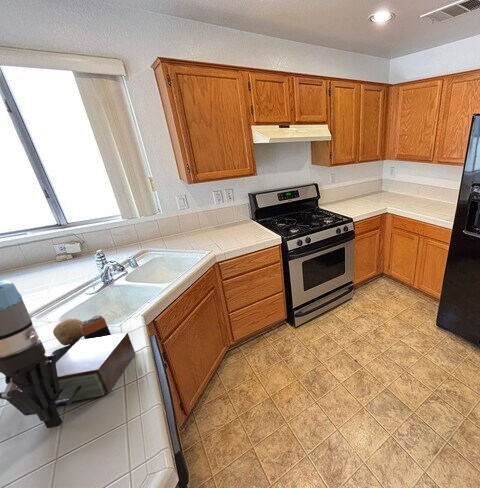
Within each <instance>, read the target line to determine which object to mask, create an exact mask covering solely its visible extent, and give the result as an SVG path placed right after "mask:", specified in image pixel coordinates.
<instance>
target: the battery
mask: <svg viewBox="0 0 480 488" xmlns="http://www.w3.org/2000/svg"><path fill="white" fill-rule="evenodd" d="M79 327H80V329H81V332H82V334H83V338H84V340H85V339H91V338H97V337H103V336H109V335H112V334H111V332H110V331H111V330H110V329H109V327H108V324H107V321H106V318H104V316H102V315H101V314H100V315H99V314H98V315H94V316H93V317H92V318H90V319H88V320H83V321H82V323H80V324H79Z"/></svg>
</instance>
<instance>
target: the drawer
mask: <svg viewBox="0 0 480 488" xmlns="http://www.w3.org/2000/svg"><path fill="white" fill-rule="evenodd" d="M58 381H59V387H60V391H59V393H57V394H56V395H55V396H59V399H58V400H56V401H55V402H56V404H57V407H58V409H59V408H62V407H68V406H70V405H71V404H72V402H76V401H82V400H86V399H87V400H88V399H91V398H97V397H102V396H104V395H106V394H105V392H106V391H105V389H104V387H103V385H102V382H101V380H100V378H99V376H98V374H97V373H96V372H94V373H91V374H90V373H88V374H86V375H84V374H83V375H80V376H79V375H78V376H75V377H73V376H72V377H67V378H61V379H58ZM52 389H53V388H52Z"/></svg>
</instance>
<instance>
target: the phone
mask: <svg viewBox="0 0 480 488" xmlns="http://www.w3.org/2000/svg"><path fill="white" fill-rule="evenodd" d="M76 343H77V342H76ZM76 343H74V344H71V345H65V346H63V347H60V348H58V349H55V350H53V351H52V353H51V355H56V362H57V361H58V360H59V359H60V358H61V357H62V356H63V355H65V354H66V353H67V352H68V351H69V350H70V349H71V348H72V347H73V346H74V345H75V344H76Z"/></svg>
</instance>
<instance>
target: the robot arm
mask: <svg viewBox="0 0 480 488" xmlns="http://www.w3.org/2000/svg"><path fill="white" fill-rule="evenodd" d="M33 323H34V322H33V321H32V318H31V316H30V314H29V311H28V309H27V307H26V304H25V301H24V300H23V296H22V294H21V293H20V292H19V291H18V289H17V287H16V285H15V284H14V282H12V281H10V280H0V374H2V375H4V377H5V380H4V382H5V384H6V387H5V389H4V391H1V392H0V400H6V402H8V403H9V404H11V405H12V406H13V407H14V408H15V409H16V410H17V411H18V412H20V413H22V414H23V416H25V417H27V416H28V417H29V416H33V415H37V417H38V419H39V421H41V422H43V423H44V425H45V428H46V429H53V428H56V427H60V426H61V425H62V424H63V420H62V417H61V416H60V414H59V411H58V410H59V408H58V407H57V404H56V402H55V401H56V400H58V399H59V396H55V395H56V394H57V393H59V391H60V387H59V381H58V375H57V369H56V355H52V354H49V355H46V348H45V347H44V344H43V341H42V339H39V338H40V336H39V334H38V332H37V330H36V328H35V326H34V324H33ZM52 388H53V389H52Z"/></svg>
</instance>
